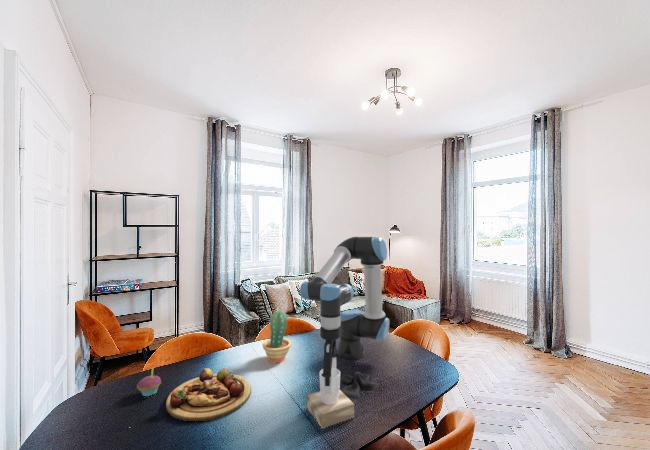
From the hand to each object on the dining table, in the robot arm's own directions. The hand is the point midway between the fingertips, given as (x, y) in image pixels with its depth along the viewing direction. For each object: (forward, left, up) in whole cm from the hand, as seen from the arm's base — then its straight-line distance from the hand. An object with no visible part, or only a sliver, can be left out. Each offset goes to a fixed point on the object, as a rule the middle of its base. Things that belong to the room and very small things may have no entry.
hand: (330, 383), depth 108 cm
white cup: (0, 0, -6) cm, 6 cm away
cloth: (-11, +21, -12) cm, 26 cm away
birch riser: (0, 0, -11) cm, 11 cm away
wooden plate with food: (-31, -39, -12) cm, 51 cm away
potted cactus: (-52, -4, -11) cm, 53 cm away
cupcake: (-44, -61, -11) cm, 76 cm away
